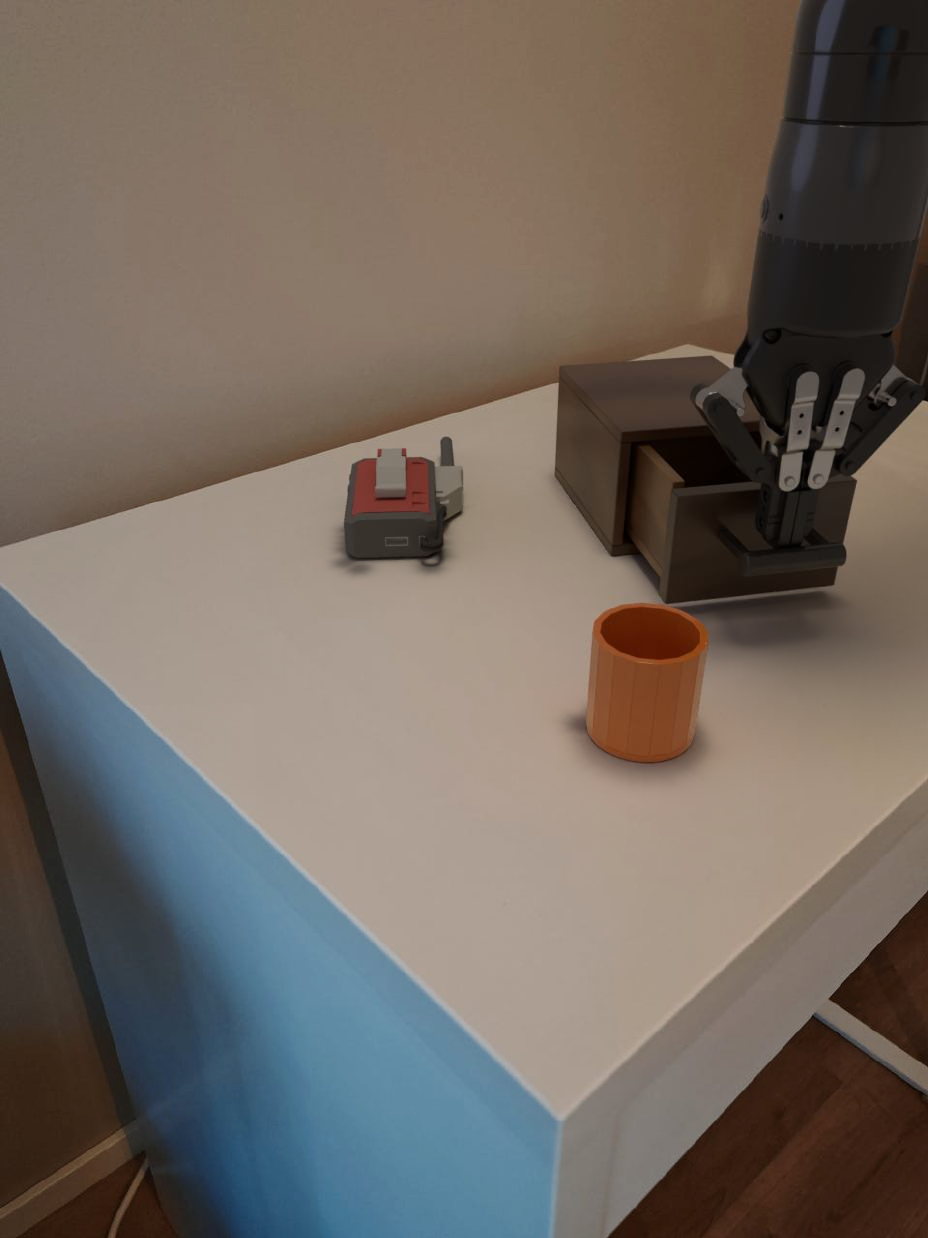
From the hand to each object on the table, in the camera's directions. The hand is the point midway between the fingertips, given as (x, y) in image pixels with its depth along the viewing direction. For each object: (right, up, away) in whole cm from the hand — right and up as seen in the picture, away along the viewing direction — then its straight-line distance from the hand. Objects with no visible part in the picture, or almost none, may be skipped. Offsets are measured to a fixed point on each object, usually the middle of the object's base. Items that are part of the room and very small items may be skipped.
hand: (780, 542), depth 56 cm
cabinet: (-3, +4, +18) cm, 19 cm away
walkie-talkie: (-23, +4, +19) cm, 30 cm away
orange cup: (-9, -10, -5) cm, 15 cm away
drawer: (-1, -1, +8) cm, 9 cm away
